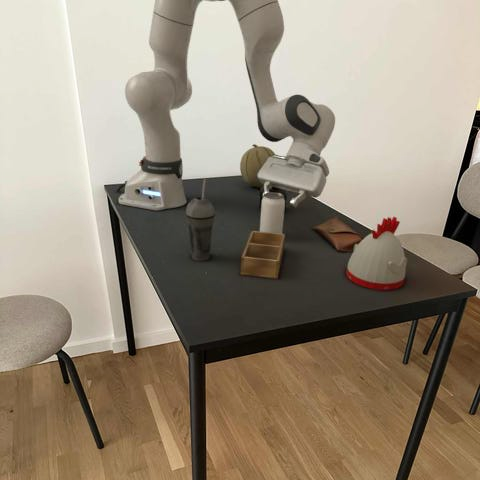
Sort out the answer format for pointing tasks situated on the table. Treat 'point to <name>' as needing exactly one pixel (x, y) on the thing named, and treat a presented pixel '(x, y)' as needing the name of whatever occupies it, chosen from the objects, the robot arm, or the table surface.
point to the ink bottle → (275, 190)
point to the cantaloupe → (254, 164)
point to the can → (272, 213)
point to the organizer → (263, 254)
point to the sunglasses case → (339, 234)
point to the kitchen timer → (379, 259)
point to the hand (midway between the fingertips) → (278, 201)
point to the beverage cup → (200, 226)
